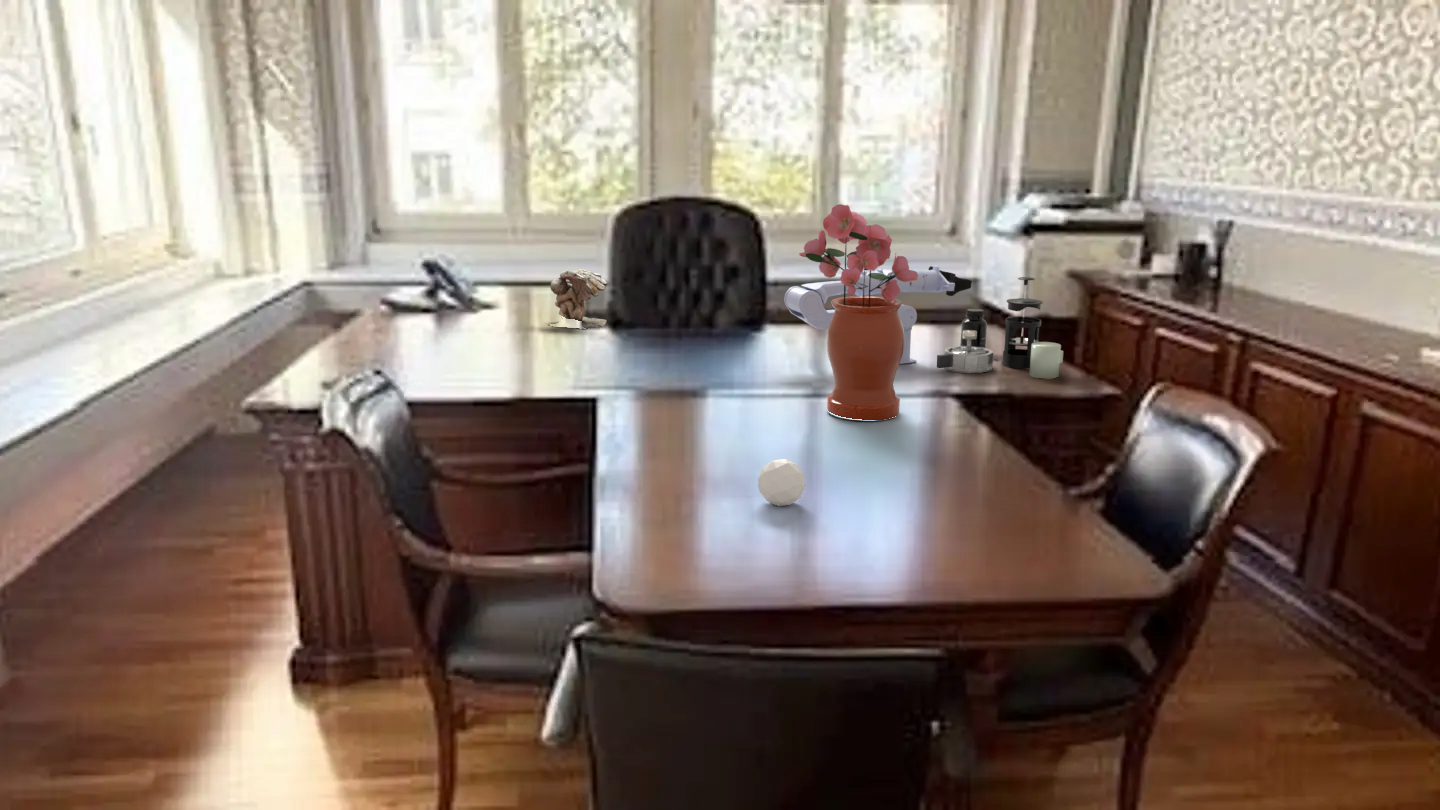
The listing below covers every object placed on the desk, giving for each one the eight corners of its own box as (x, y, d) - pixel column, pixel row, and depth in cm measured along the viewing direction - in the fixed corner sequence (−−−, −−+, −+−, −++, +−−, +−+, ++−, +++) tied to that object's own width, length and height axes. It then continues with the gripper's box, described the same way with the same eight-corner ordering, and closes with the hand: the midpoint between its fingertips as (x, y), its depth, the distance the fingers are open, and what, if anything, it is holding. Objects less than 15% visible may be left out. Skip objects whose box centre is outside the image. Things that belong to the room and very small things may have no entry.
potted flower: (794, 401, 240) (796, 201, 228) (903, 399, 241) (912, 200, 230) (805, 424, 222) (809, 207, 210) (923, 421, 223) (933, 206, 211)
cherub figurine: (569, 317, 347) (566, 263, 342) (618, 320, 341) (616, 265, 336) (541, 326, 331) (538, 270, 326) (592, 330, 325) (590, 272, 320)
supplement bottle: (987, 355, 287) (990, 312, 283) (962, 355, 287) (965, 312, 284) (982, 350, 293) (984, 307, 290) (957, 350, 293) (960, 307, 290)
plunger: (964, 358, 265) (966, 335, 263) (944, 352, 273) (945, 329, 271) (993, 355, 268) (994, 332, 267) (971, 349, 276) (973, 327, 275)
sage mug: (1042, 380, 259) (1044, 348, 257) (1023, 374, 265) (1025, 343, 263) (1069, 376, 262) (1072, 345, 260) (1050, 371, 268) (1052, 340, 266)
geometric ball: (769, 516, 177) (752, 473, 179) (814, 499, 177) (796, 456, 179) (765, 509, 170) (748, 464, 172) (811, 491, 169) (793, 446, 172)
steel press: (952, 376, 263) (952, 358, 261) (924, 367, 273) (924, 349, 272) (1001, 370, 269) (1002, 353, 267) (972, 361, 279) (973, 344, 278)
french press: (1047, 368, 271) (1054, 279, 266) (1014, 370, 269) (1020, 280, 263) (1023, 358, 282) (1029, 273, 276) (991, 360, 280) (997, 274, 274)
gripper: (936, 272, 269) (980, 272, 274) (906, 260, 282) (949, 260, 287) (932, 299, 271) (976, 298, 277) (903, 286, 284) (945, 285, 289)
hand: (962, 280), depth 282 cm, fingers open, 7 cm apart
